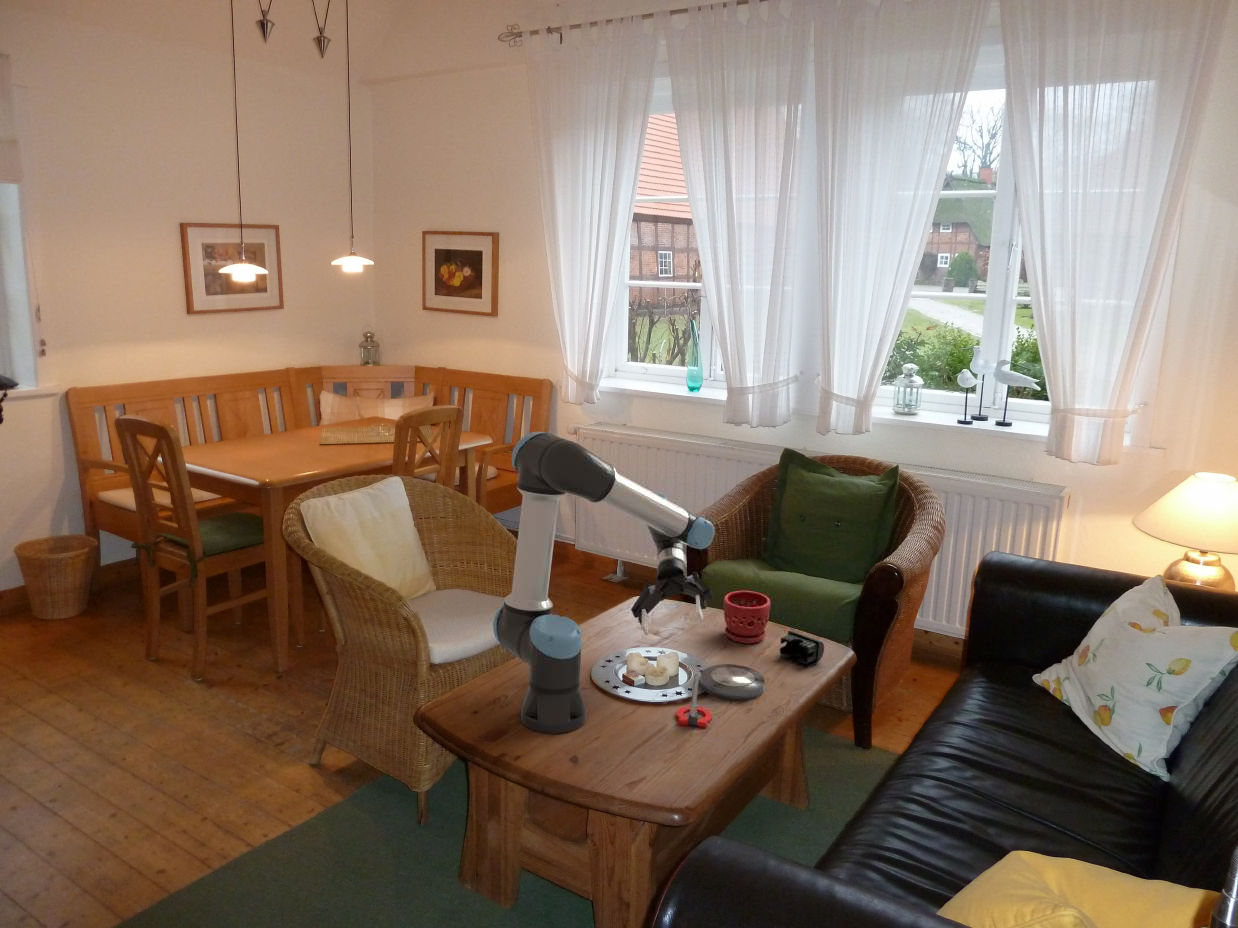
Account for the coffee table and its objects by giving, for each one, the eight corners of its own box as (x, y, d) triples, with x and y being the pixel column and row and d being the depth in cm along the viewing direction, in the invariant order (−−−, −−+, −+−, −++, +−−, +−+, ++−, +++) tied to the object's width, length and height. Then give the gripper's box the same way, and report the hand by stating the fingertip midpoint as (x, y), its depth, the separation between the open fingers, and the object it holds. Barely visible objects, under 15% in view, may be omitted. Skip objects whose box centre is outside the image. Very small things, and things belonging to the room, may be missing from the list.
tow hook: (677, 708, 233) (674, 725, 224) (681, 658, 231) (677, 672, 222) (712, 712, 232) (710, 729, 223) (716, 661, 230) (714, 676, 221)
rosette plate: (705, 700, 237) (705, 689, 237) (696, 672, 253) (697, 662, 252) (769, 701, 238) (770, 690, 238) (757, 673, 254) (757, 663, 253)
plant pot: (717, 628, 283) (719, 590, 280) (761, 628, 284) (764, 590, 282) (726, 646, 270) (729, 606, 267) (772, 646, 272) (776, 606, 269)
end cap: (823, 662, 263) (825, 638, 261) (808, 669, 258) (810, 645, 256) (792, 650, 270) (794, 627, 268) (777, 657, 265) (779, 634, 263)
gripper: (723, 568, 245) (727, 622, 226) (630, 593, 250) (627, 648, 232) (714, 545, 241) (718, 598, 223) (620, 570, 246) (616, 624, 228)
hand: (672, 623), depth 227 cm, fingers open, 13 cm apart
